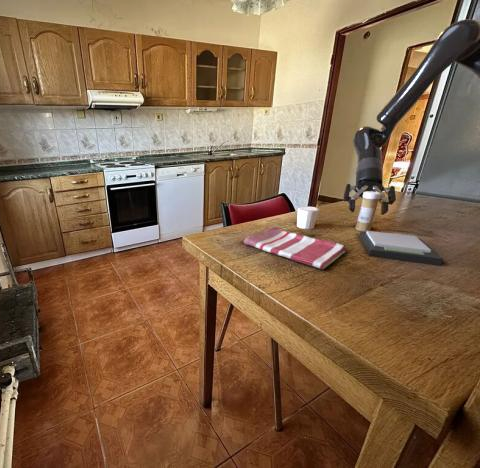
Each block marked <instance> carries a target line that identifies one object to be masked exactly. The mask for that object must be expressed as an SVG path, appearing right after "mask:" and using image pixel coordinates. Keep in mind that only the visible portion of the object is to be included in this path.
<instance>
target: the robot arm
mask: <svg viewBox="0 0 480 468" xmlns="http://www.w3.org/2000/svg"><path fill="white" fill-rule="evenodd" d="M453 63H456V64H458V65H460V66H461V67H464V68H466V69H467V70H469V71H471V72H473V74H474V75H476V76H477V77H478V78H479V79H480V21H478V20H477V19H471V18H469V19H468V18H466V19H461V20H458V21H456V22H454V23H452V24H450V25H449V26H447V27H445V28H444V30H442V32H440V34H439V35H438V36H437V38H436V40H435V41H434V42H433V44H432V46H431V47H430V49H429V50H428V52H427V53H426V55H425V57H424V58H423V59H422V61H421V62H420V63H419V64H418V66H417V68H416V69H415V70H414V72H413V73H412V74H411V75H410V76H409V78H408V79H407V80H406V81H405V83H404V84H402V86H401V87H400V89H398V90H397V91H396V93H395V94H394V95H393V96H392V97H391V99H390V100H389V101H388V102H387V103H386V104H385V105H384V106H383V108H382V109H381V110H380V111H379V113H377V115H376V117H375V119H376V121H377V123H379V124H380V125H381V128H380V129H378V128H375V127H372V126H368V125H365V126H362V127H360V128H358V129H357V130H356V131H355V133H354V136H353V139H352V144H353V147H354V150H355V152H356V155H357V166H356V168H355V169H356V171H355V185H351V183H347V184H346V185H345V187H344V193H343V199H342V201H343V202H347V203H348V210H349V211H350V213H354V212H355V210H356V201H358V200H359V199H360V198H361V199H363V194H364V192H366V191H373V192H379V193H381V195H380V199H379V200H378V203H379V204H380V215H382V216H384V215H385V214H387V213H388V211H389V205H390V206H391V205H393V204H394V203H395V202H396V200H397V197H396V188H395V186H394V185H391V186H389V187H387V186H386V187H385V186H384V185H383V183H384V181H383V180H384V179H383V177H384V176H383V175H384V174H383V172H384V170H383V169H384V167H383V151H382V149H381V148H382V147H384V146H385V145H386V144H387V142H388V140H389V138H390V137H391V135H392V133H393V132H394V130H395V128H396V127H397V125H398V124H399V122H401V121H402V119H403V118H404V117H406V115H407V114H409V112H410V111H411V109H412V108H413V107H414V106H415V105H416V104H417V103H418V101H419V100H420V99H421V98H422V97H423V95H424V94H425V93H426V91H427V89H429V87H430V86H431V85H432V84H433V83H434V81H435V80H437V79H438V78H439V76H440V75H441V74H443V72H444V71H446V69H448V68H449V67H450V66H451V65H453ZM352 191H354V192H355V194H354V195H352V196H350V193H351V192H352ZM384 192H385V193H384ZM386 195H387V197H386Z"/></svg>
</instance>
